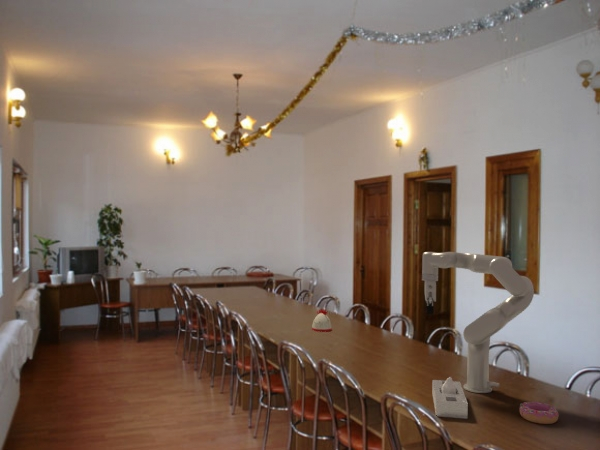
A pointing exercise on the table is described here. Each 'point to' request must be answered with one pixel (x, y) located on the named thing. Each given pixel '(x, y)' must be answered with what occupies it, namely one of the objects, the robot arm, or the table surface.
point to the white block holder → (449, 401)
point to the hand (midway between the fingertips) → (429, 312)
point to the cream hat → (321, 322)
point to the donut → (539, 412)
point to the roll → (449, 387)
